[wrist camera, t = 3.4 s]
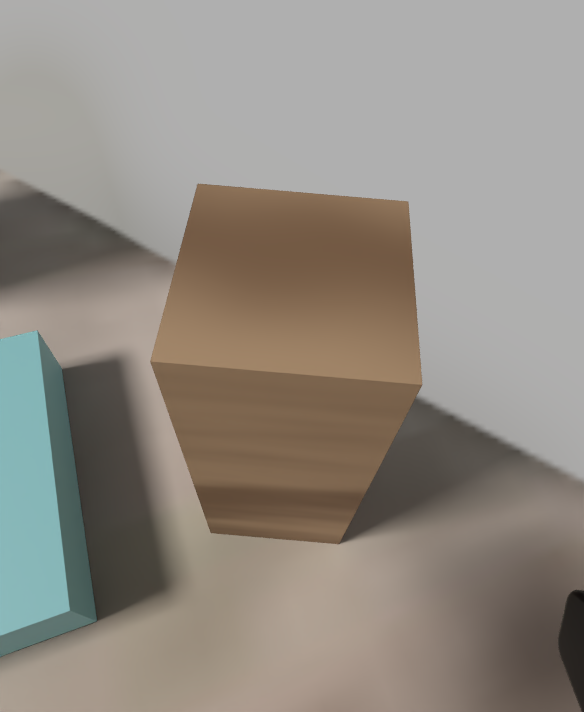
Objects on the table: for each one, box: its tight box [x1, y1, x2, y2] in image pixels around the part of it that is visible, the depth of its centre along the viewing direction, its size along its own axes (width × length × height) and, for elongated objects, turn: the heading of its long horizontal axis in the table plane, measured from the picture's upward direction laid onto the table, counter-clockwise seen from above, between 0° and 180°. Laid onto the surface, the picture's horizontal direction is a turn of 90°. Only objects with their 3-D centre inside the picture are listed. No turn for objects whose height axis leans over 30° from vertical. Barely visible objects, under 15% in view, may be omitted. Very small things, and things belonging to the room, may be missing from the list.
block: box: [150, 184, 422, 544], centre depth 16 cm, size 5×5×12 cm
